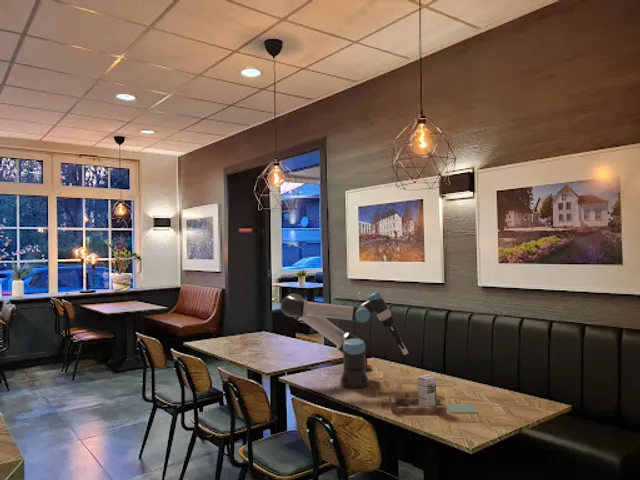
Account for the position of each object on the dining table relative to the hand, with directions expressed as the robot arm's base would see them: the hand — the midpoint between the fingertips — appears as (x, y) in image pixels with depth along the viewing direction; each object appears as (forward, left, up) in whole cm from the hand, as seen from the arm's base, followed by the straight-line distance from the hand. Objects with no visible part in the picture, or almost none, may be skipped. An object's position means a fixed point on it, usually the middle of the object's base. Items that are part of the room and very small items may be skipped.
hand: (405, 352), depth 274 cm
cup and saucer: (-24, +24, -16) cm, 37 cm away
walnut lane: (-1, -50, -15) cm, 52 cm away
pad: (+18, -50, -15) cm, 55 cm away
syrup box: (+3, -50, -15) cm, 52 cm away
